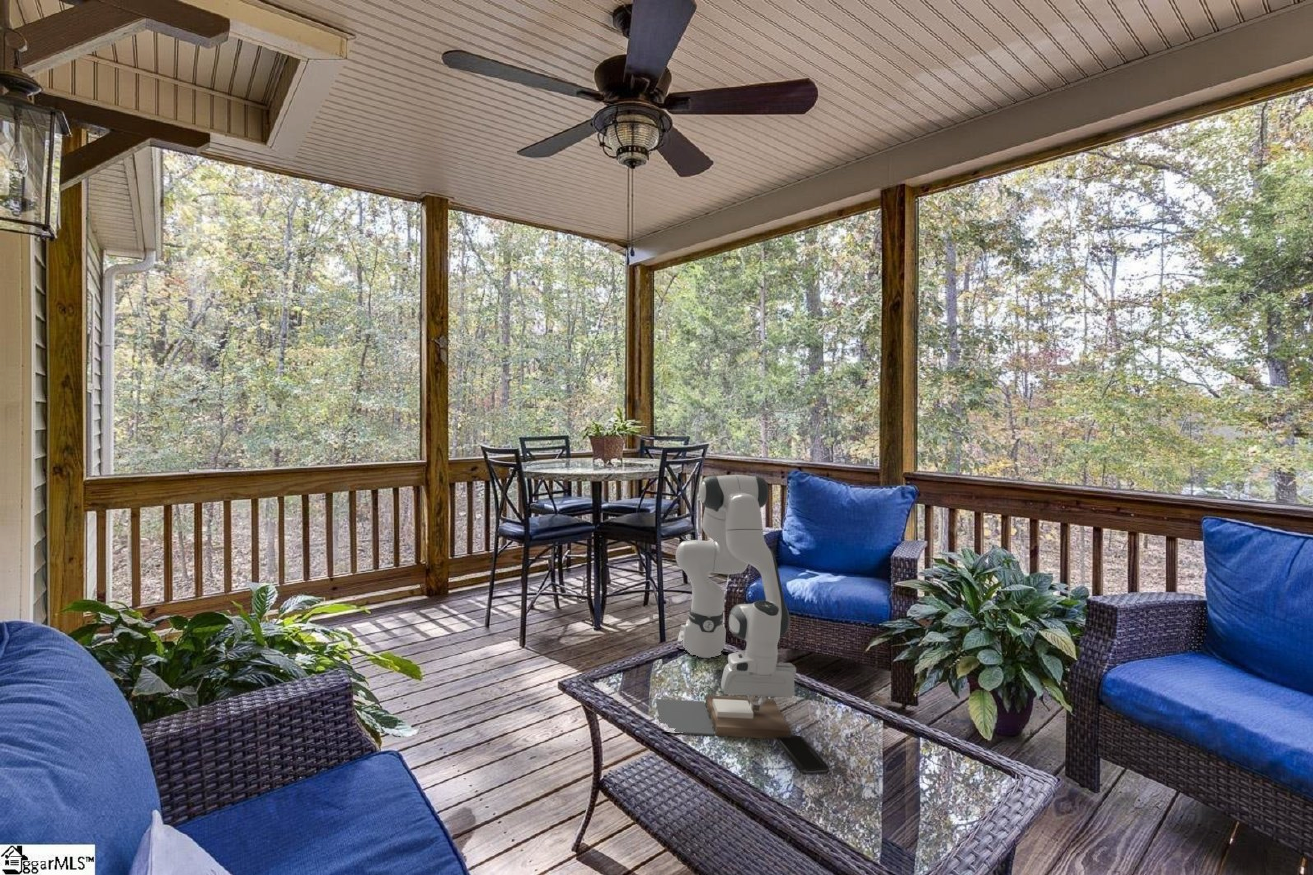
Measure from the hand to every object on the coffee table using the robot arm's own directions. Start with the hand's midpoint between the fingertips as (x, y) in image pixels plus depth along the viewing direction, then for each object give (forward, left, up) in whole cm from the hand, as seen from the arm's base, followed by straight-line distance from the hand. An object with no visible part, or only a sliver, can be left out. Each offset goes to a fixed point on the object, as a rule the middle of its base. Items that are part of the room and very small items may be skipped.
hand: (755, 709), depth 169 cm
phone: (+16, +9, -4) cm, 18 cm away
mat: (0, -20, -3) cm, 20 cm away
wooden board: (0, -2, -3) cm, 4 cm away
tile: (0, -6, -1) cm, 6 cm away
